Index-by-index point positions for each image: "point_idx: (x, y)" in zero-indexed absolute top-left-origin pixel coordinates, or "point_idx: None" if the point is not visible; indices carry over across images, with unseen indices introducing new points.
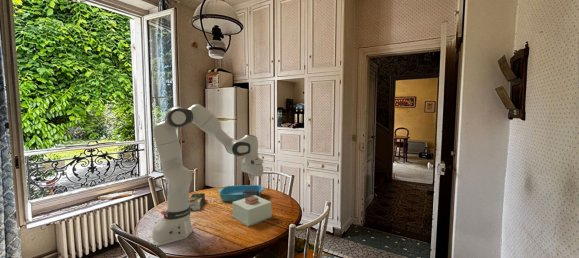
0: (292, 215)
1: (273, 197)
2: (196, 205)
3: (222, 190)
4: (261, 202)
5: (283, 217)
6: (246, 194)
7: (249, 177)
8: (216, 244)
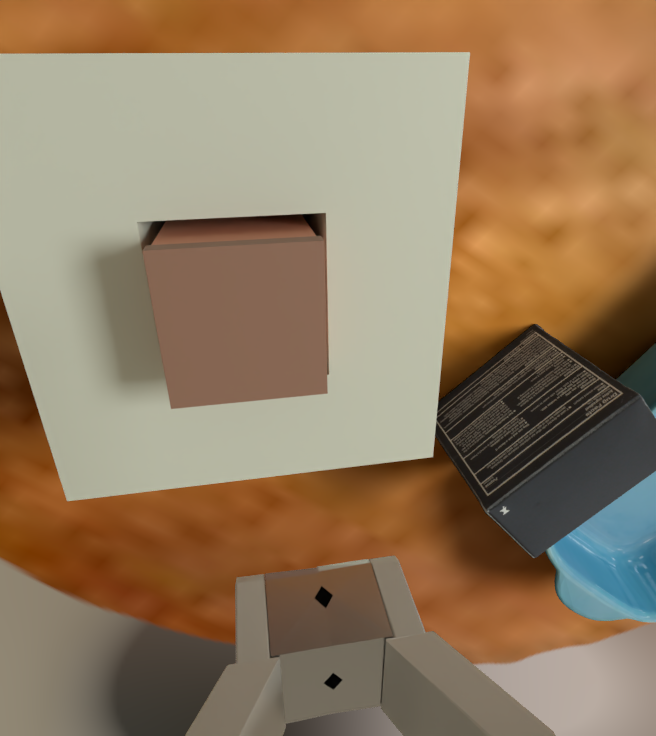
0: (27, 543)
1: (462, 592)
2: None
3: None
4: (134, 400)
5: (33, 470)
6: (581, 407)
7: (406, 648)
8: None
